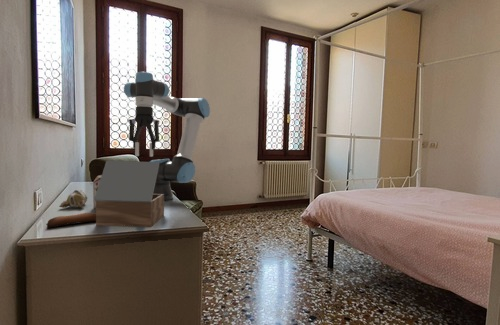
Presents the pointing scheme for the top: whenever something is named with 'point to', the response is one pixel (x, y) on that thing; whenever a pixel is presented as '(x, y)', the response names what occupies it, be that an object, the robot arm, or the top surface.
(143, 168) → the lid
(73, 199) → the ceramic sculpture
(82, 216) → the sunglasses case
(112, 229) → the top surface
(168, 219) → the top surface
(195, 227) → the top surface
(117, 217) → the walnut box
